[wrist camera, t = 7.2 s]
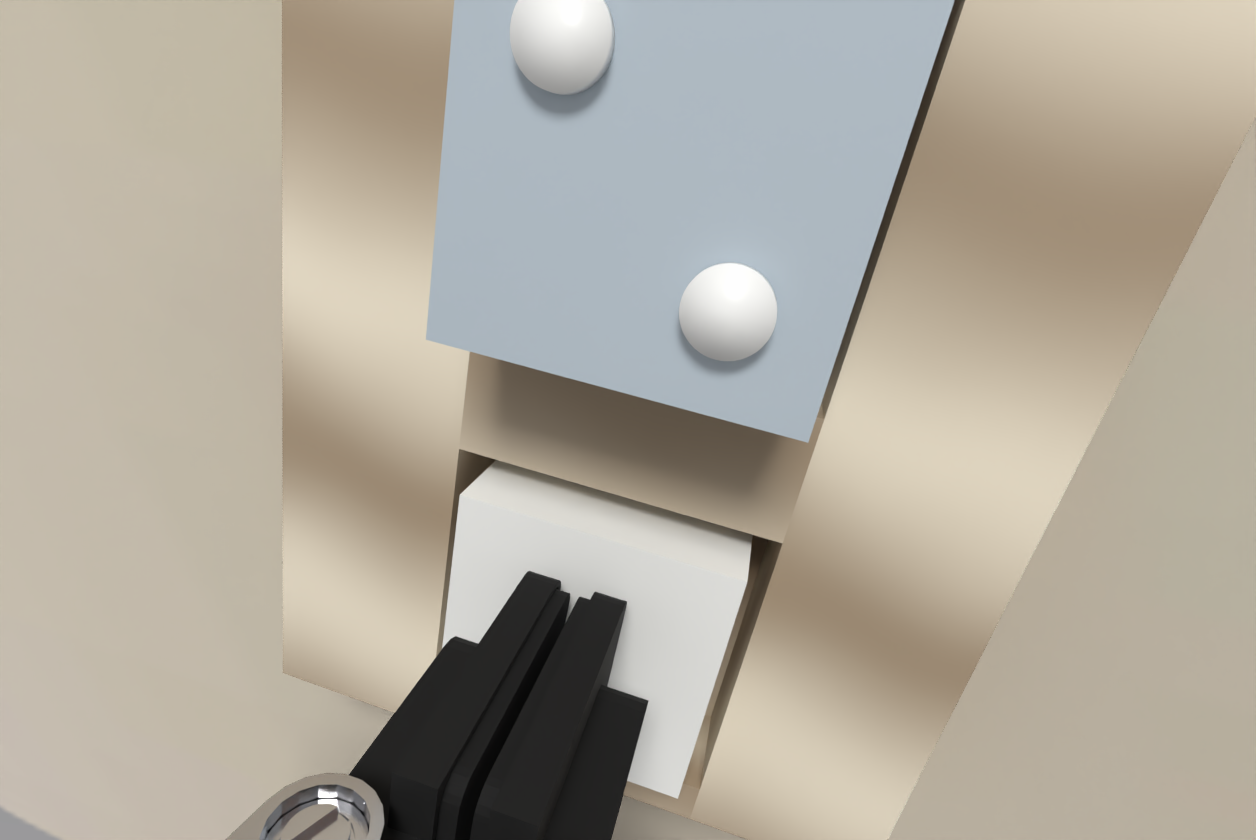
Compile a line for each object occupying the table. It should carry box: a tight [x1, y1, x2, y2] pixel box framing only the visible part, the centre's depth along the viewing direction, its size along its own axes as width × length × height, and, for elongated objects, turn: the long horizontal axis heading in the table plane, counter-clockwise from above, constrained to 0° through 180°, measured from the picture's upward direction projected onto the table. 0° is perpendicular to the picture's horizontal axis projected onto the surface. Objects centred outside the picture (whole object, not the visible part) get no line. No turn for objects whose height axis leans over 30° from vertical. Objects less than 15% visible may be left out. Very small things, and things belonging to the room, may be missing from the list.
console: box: [282, 0, 1256, 840], centre depth 10 cm, size 22×12×2 cm, turn 168°
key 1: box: [442, 460, 753, 799], centre depth 12 cm, size 5×5×3 cm
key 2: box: [426, 0, 955, 443], centre depth 8 cm, size 5×5×3 cm
